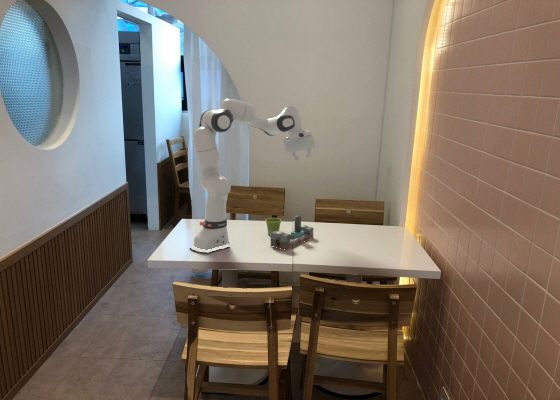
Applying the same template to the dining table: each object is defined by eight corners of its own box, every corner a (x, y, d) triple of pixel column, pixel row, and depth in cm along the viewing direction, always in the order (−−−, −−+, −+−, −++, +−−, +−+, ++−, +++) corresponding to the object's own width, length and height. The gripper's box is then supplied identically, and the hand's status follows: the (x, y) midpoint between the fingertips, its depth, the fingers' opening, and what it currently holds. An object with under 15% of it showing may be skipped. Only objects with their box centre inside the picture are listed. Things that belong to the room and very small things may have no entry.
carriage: (298, 239, 253) (298, 218, 250) (290, 237, 256) (291, 216, 253) (304, 236, 258) (304, 215, 255) (296, 234, 261) (297, 214, 258)
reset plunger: (281, 244, 243) (281, 240, 243) (278, 243, 244) (278, 239, 244) (287, 241, 247) (287, 238, 247) (284, 241, 248) (284, 237, 248)
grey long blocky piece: (285, 250, 240) (286, 235, 238) (270, 246, 246) (270, 231, 244) (313, 237, 261) (313, 223, 259) (298, 234, 267) (298, 220, 265)
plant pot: (281, 236, 263) (281, 222, 261) (264, 236, 263) (264, 222, 261) (281, 232, 272) (281, 217, 270) (265, 231, 272) (265, 217, 270)
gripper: (279, 139, 266) (285, 162, 268) (306, 132, 252) (313, 157, 255) (286, 137, 271) (292, 159, 273) (313, 130, 257) (319, 154, 259)
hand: (302, 158), depth 264 cm, fingers open, 8 cm apart
